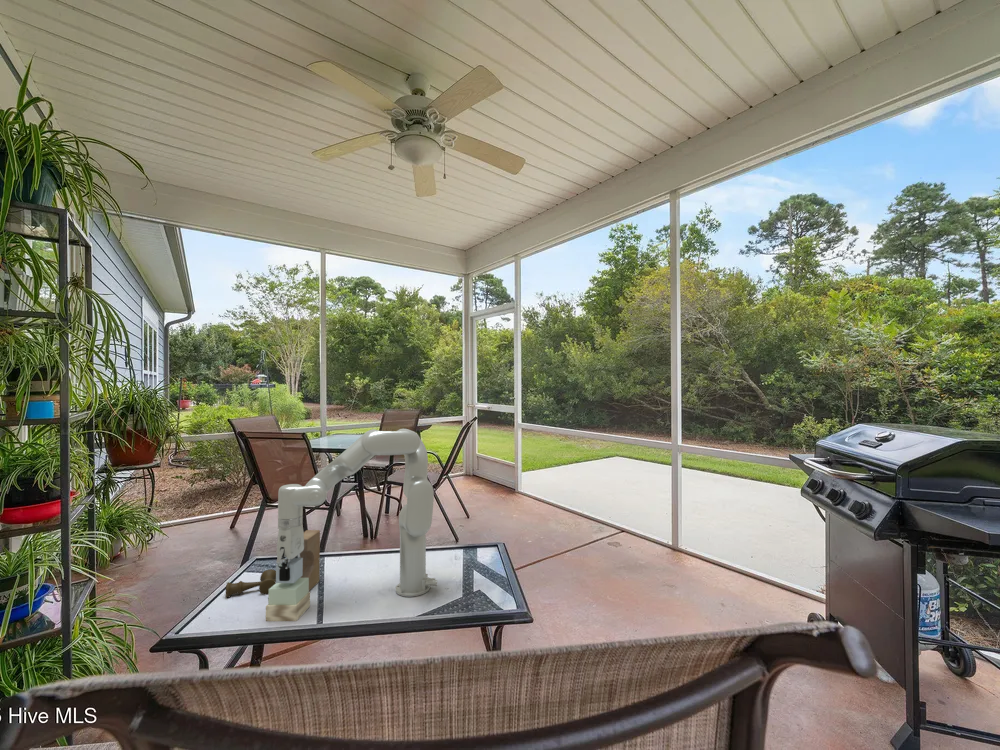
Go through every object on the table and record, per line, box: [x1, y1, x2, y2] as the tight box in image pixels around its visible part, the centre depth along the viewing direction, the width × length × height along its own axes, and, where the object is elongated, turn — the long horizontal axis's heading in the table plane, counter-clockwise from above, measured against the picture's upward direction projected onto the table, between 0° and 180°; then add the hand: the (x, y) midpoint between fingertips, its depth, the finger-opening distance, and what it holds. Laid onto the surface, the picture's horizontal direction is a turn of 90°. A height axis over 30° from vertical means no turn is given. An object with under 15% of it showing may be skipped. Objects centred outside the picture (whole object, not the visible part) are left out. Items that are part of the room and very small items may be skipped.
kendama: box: [225, 569, 276, 598], centre depth 161 cm, size 6×10×20 cm
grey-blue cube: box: [275, 557, 303, 583], centre depth 145 cm, size 6×6×6 cm
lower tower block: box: [265, 591, 311, 622], centre depth 144 cm, size 10×10×5 cm
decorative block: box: [300, 529, 321, 592], centre depth 164 cm, size 11×6×20 cm, turn 177°
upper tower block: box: [267, 578, 310, 605], centre depth 145 cm, size 9×9×5 cm
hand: (289, 575), depth 145 cm, fingers closed on grey-blue cube, 6 cm apart
